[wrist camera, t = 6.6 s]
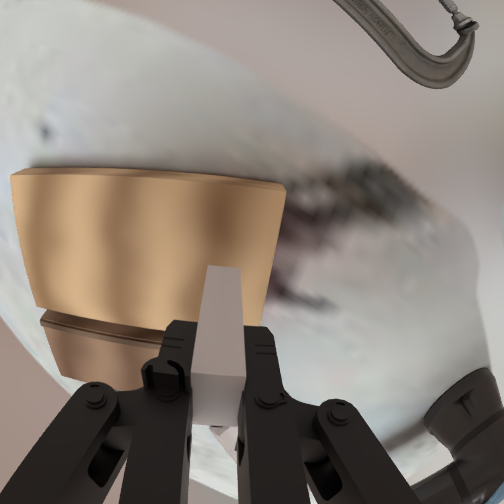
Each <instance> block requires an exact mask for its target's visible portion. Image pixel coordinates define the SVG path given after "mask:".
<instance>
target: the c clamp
mask: <svg viewBox="0 0 504 504" xmlns="http://www.w3.org/2000/svg"><path fill="white" fill-rule="evenodd" d="M333 1H334V2H335V3H336V4H338V5H339V6H340V7H341V8H342V9H343V10H344V11H345V12H346V13H347V14H348V15H349V16H350V17H351V18H352V19H354V20H355V21H356V22H357V23H358V24H359V25H360V26H361V27H362V28H363V29H364V30H365V31H366V32H367V33H368V35H369V36H370V37H371V38H372V39H373V40H374V41H375V42H376V43H377V44H378V45H379V47H380V48H381V49H382V50H383V51H384V52H385V53H386V55H387V56H388V57H389V58H390V59H391V60H392V62H393V63H394V64H395V65H396V66H397V68H398V69H399V70H400V71H401V72H402V73H403V74H405V75H406V76H407V77H409V78H410V79H411V80H413V81H415V82H416V83H418V84H420V85H422V86H425V87H428V88H432V89H442V88H447V87H449V86H451V85H452V84H454V83H455V82H456V81H457V80H458V79H459V78H460V77H461V76H462V75H463V73H464V72H465V70H466V69H467V67H468V65H469V63H470V60H471V58H472V54H473V50H474V43H475V32H474V31H475V30H477V29H478V27H479V24H478V23H477V22H476V21H473V22H472V18H471V17H466V16H464V15H463V14H462V13H461V12H457V9H458V8H457V6H456V4H454V2H453V1H452V0H439V2H440V3H441V4H442V6H444V8H445V9H446V11H448V12H449V13H452V14H453V16H452V17H451V18H452V20H453V22H454V27H453V28H454V30H456V31H457V33H458V34H459V35H460V38H459V40H458V42H457V43H456V44H455V45H454V46H453V47H452V48H451V49H450V50H449V51H448V52H447V53H445V54H444V55H441V56H434V55H432V54H430V53H428V52H427V51H425V50H424V49H423V48H422V47H421V46H419V44H418V43H417V42H416V41H415V40H414V39H413V37H412V36H411V35H410V34H409V33H408V31H407V30H406V29H405V28H404V27H403V25H402V24H401V23H400V22H399V21H398V20H397V19H396V18H395V16H394V15H393V14H392V13H391V12H390V11H389V10H388V9H387V8H386V7H385V6H384V5H383V4H382V3H381V2H380V1H379V0H333Z"/></svg>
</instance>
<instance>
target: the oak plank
mask: <svg viewBox="0 0 504 504" xmlns="http://www.w3.org/2000/svg"><path fill="white" fill-rule="evenodd" d="M10 181H11V191H12V200H13V207H14V214H15V221H16V227H17V232H18V237H19V242H20V247H21V251H22V256H23V260H24V264H25V268H26V272H27V276H28V279H29V283H30V286H31V290H32V293H33V296H34V299H35V303H36V306H37V307H41V308H45V309H49V310H53V311H57V312H62V313H66V314H71V315H76V316H80V317H85V318H90V319H96V320H101V321H106V322H112V323H118V324H123V325H130V326H136V327H142V328H149V329H156V330H164V331H165V330H166V327H167V326H168V325H169V324H170V323H171V322H172V321H173V320H174V319H175V320H183V321H192V322H198V320H199V314H200V308H201V302H202V296H203V290H204V284H205V278H206V273H207V267H208V265H213V266H223V267H234V268H241V289H242V308H243V325H247V326H259V325H260V321H261V316H262V311H263V307H264V302H265V297H266V293H267V288H268V283H269V278H270V274H271V269H272V264H273V259H274V254H275V249H276V244H277V239H278V234H279V229H280V224H281V219H282V214H283V209H284V204H285V198H286V193H287V192H286V190H285V188H284V187H283V185H282V184H280V183H273V182H266V181H259V180H251V179H243V178H234V177H225V176H216V175H206V174H195V173H183V172H171V171H156V170H139V169H115V168H26V169H23V170H21V171H18V172H16V173H14V174H12V175H10Z"/></svg>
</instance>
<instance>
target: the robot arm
mask: <svg viewBox="0 0 504 504" xmlns="http://www.w3.org/2000/svg"><path fill="white" fill-rule="evenodd" d="M141 375H142V380H143V387H141V388H139V389H136V390H131V391H118V392H115V391H114V389H113V388H112V387H111V386H109V385H108V384H107V383H103V382H99V381H96V382H89V383H86V384H83V385H82V386H81V387H80V388H79V389H77V391H76V392H75V393H74V394H73V396H72V397H71V398H70V399H69V401H68V402H67V403H66V404H65V406H64V407H63V408H62V410H61V411H60V412H59V413H58V415H57V416H56V417H55V419H54V420H53V421H52V423H51V424H50V425H49V426H48V428H47V429H46V430H45V432H44V433H43V434H42V436H41V437H40V438H39V440H38V441H37V442H36V444H35V445H34V446H33V448H32V449H31V450H30V452H29V453H28V454H27V456H26V457H25V459H24V460H23V461H22V463H21V464H20V466H19V467H18V468H17V470H16V471H15V473H14V474H13V475H12V477H11V478H10V480H9V481H8V483H7V484H6V486H5V487H4V489H3V490H2V492H1V493H0V504H102V503H103V502H104V500H105V498H106V496H107V494H108V492H109V490H110V488H111V487H112V485H113V483H114V481H115V479H116V477H117V476H118V474H119V472H120V470H121V468H122V466H123V465H124V463H125V461H126V459H127V463H126V467H125V472H124V478H123V483H122V488H121V493H120V499H119V504H187V503H188V485H189V469H190V455H191V442H192V433H191V430H192V424H199V425H211V426H226V427H237V423H238V436H237V441H236V445H235V450H234V451H237V475H238V501H239V504H311V503H310V497H309V492H308V486H309V488H310V490H311V492H312V494H313V496H314V498H315V500H316V502H317V503H318V504H498V503H500V502H501V501H502V500H503V499H504V407H503V405H502V401H501V397H500V393H499V390H498V386H497V383H496V379H495V377H494V376H493V374H492V373H491V372H490V370H489V369H486V368H484V369H480V370H477V371H475V372H473V373H471V374H470V375H468V376H466V377H465V378H464V379H462V380H461V381H459V382H458V383H457V384H455V385H454V386H453V387H452V388H450V389H449V390H448V391H447V392H446V393H445V394H444V395H443V396H442V397H441V398H439V400H438V401H437V402H436V403H435V404H434V405H433V406H432V407H431V408H430V410H429V411H428V413H427V414H426V416H425V418H424V424H425V426H426V428H427V430H428V432H429V433H430V434H431V435H434V436H435V437H436V438H437V440H439V441H440V442H441V443H442V444H443V445H444V446H445V447H446V448H448V450H449V451H450V453H451V455H452V457H453V459H454V461H453V462H452V463H450V464H449V465H447V466H445V467H444V468H442V469H441V470H439V471H437V472H436V473H434V474H432V475H430V476H429V477H427V478H425V479H423V480H421V481H419V482H417V483H416V484H414V485H412V486H409V484H408V483H407V482H406V480H405V478H404V477H403V475H402V474H401V473H400V471H399V470H398V468H397V467H396V465H395V464H394V462H393V461H392V459H391V458H390V457H389V455H388V454H387V452H386V451H385V449H384V448H383V446H382V445H381V444H380V442H379V441H378V439H377V438H376V436H375V435H374V433H373V432H372V430H371V429H370V428H369V426H368V425H367V423H366V422H365V420H364V419H363V417H362V416H361V414H360V413H359V412H358V410H357V409H356V408H355V407H354V406H353V405H352V404H351V403H349V402H347V401H345V400H341V399H329V400H327V401H325V402H323V403H322V404H321V405H320V406H315V405H311V404H306V403H303V402H300V401H297V400H295V399H293V398H292V397H291V396H290V395H289V394H288V393H287V392H286V391H285V390H284V387H283V384H282V379H281V374H280V368H279V363H278V357H277V352H276V347H275V341H274V336H273V334H272V333H271V332H270V330H269V329H268V328H267V327H263V326H247V325H243V308H242V289H241V268H234V267H223V266H213V265H208V267H207V273H206V278H205V284H204V290H203V296H202V302H201V308H200V314H199V320H198V322H192V321H183V320H175V319H174V320H173V321H172V322H171V323H170V324H169V325H168V326H167V327H166V330H165V333H164V337H163V340H162V344H161V347H160V351H159V354H158V357H155V358H152V359H150V360H148V361H147V362H146V363H144V365H143V366H142V368H141ZM127 457H128V458H127ZM307 484H308V486H307Z"/></svg>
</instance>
